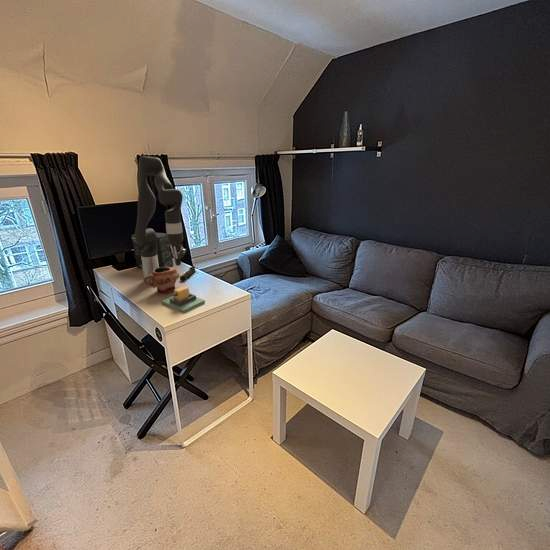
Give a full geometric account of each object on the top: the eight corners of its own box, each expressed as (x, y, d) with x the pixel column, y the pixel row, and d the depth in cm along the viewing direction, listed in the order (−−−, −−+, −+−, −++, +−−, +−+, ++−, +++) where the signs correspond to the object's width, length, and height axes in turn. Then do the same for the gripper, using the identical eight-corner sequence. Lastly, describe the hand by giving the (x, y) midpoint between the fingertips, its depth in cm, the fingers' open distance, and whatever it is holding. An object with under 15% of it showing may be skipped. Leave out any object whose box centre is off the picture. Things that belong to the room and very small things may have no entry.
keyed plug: (172, 303, 156) (170, 291, 153) (185, 297, 163) (184, 285, 160) (177, 305, 154) (175, 293, 151) (190, 299, 161) (189, 287, 158)
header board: (161, 303, 159) (161, 297, 158) (182, 294, 170) (182, 288, 169) (184, 312, 150) (183, 306, 148) (204, 302, 160) (204, 296, 159)
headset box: (136, 268, 210) (130, 232, 201) (147, 262, 221) (142, 228, 211) (163, 271, 204) (158, 234, 195) (173, 266, 215) (169, 230, 205)
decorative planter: (150, 300, 163) (146, 276, 158) (142, 292, 171) (138, 270, 166) (184, 290, 175) (182, 268, 170) (175, 284, 183) (173, 262, 178)
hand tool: (185, 282, 188) (184, 275, 186) (179, 281, 189) (179, 274, 187) (198, 271, 205) (198, 265, 203) (193, 271, 206) (192, 265, 204)
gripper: (189, 232, 144) (192, 265, 151) (172, 228, 151) (176, 260, 158) (177, 235, 139) (180, 269, 145) (159, 231, 146) (163, 264, 152)
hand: (178, 265), depth 151 cm, fingers closed
